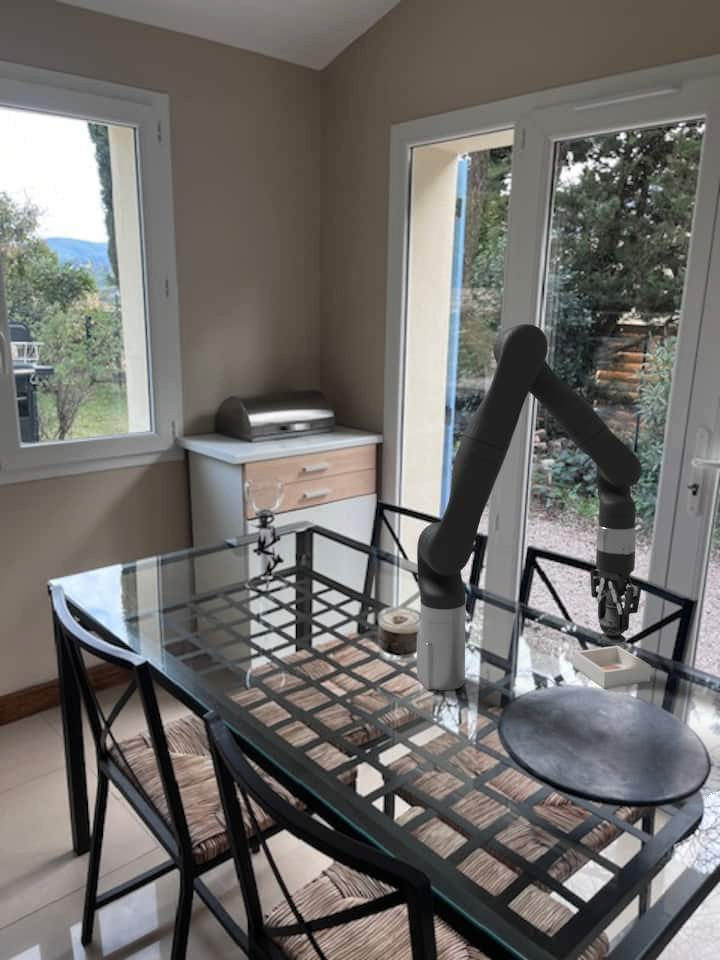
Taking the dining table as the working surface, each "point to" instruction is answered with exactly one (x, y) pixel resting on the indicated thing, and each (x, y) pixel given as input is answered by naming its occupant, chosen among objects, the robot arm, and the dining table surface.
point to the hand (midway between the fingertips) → (612, 624)
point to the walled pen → (611, 666)
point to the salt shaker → (610, 622)
